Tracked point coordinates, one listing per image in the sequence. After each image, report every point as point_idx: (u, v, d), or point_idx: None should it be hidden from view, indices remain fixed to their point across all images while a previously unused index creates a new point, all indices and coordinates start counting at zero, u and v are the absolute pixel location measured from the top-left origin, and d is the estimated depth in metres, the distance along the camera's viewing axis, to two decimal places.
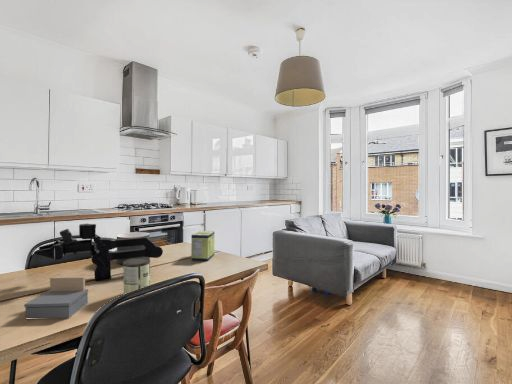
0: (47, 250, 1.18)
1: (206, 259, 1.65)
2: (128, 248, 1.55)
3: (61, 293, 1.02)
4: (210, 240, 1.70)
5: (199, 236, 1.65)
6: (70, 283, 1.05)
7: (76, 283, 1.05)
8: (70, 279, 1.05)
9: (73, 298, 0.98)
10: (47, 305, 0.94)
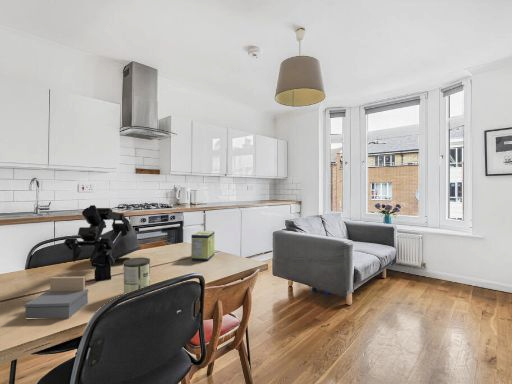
0: (96, 250, 1.18)
1: (206, 259, 1.65)
2: None
3: (61, 293, 1.02)
4: (210, 240, 1.70)
5: (199, 236, 1.65)
6: (70, 283, 1.05)
7: (76, 283, 1.05)
8: (70, 279, 1.05)
9: (73, 298, 0.98)
10: (47, 305, 0.94)
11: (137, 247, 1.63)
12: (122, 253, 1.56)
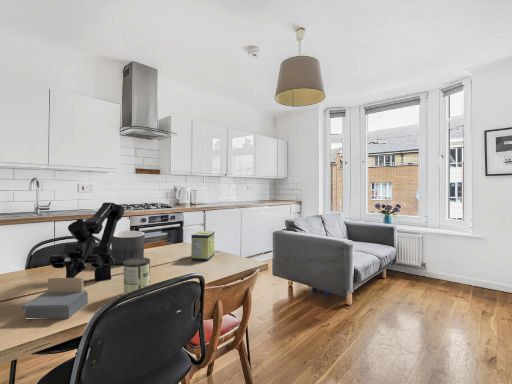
0: (75, 269, 1.08)
1: (206, 259, 1.65)
2: (121, 248, 1.55)
3: (59, 294, 1.01)
4: (210, 240, 1.70)
5: (199, 236, 1.65)
6: (68, 284, 1.04)
7: (74, 284, 1.04)
8: (68, 280, 1.03)
9: (71, 299, 0.97)
10: (45, 307, 0.92)
11: None
12: None
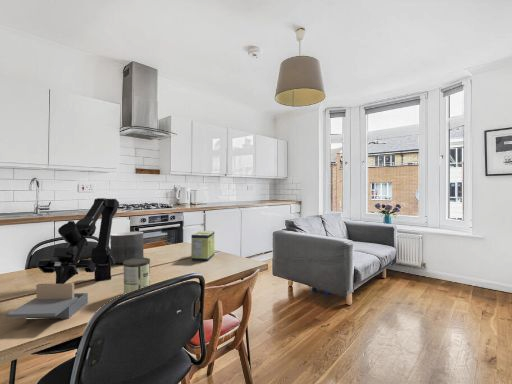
0: (66, 275, 1.01)
1: (206, 259, 1.65)
2: (121, 246, 1.56)
3: (48, 302, 0.95)
4: (210, 240, 1.70)
5: (199, 236, 1.65)
6: (58, 290, 0.97)
7: (64, 290, 0.98)
8: (58, 286, 0.97)
9: (60, 307, 0.91)
10: (31, 315, 0.86)
11: (142, 257, 1.64)
12: None
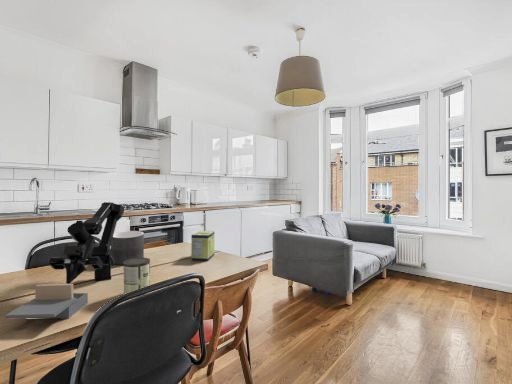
0: (75, 271, 1.08)
1: (206, 259, 1.65)
2: (123, 248, 1.55)
3: (47, 302, 0.94)
4: (210, 240, 1.70)
5: (199, 236, 1.65)
6: (57, 291, 0.97)
7: (63, 291, 0.97)
8: (57, 287, 0.97)
9: (59, 308, 0.90)
10: (30, 316, 0.86)
11: None
12: None
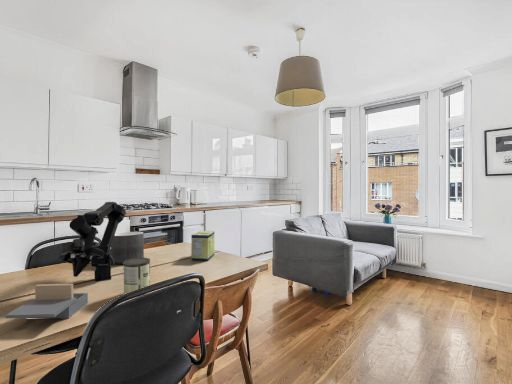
0: (80, 264, 1.11)
1: (206, 259, 1.65)
2: (124, 246, 1.56)
3: (47, 302, 0.94)
4: (210, 240, 1.70)
5: (199, 236, 1.65)
6: (57, 291, 0.97)
7: (63, 291, 0.97)
8: (57, 287, 0.97)
9: (59, 308, 0.90)
10: (30, 316, 0.86)
11: (143, 257, 1.66)
12: None
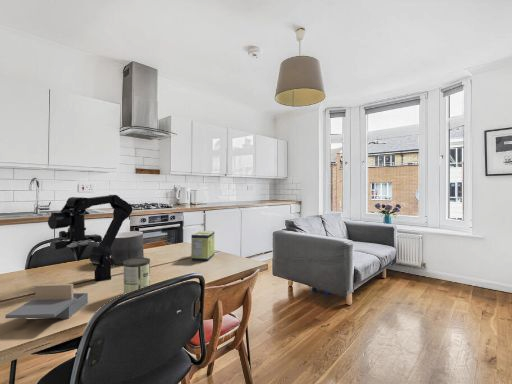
0: (72, 251, 1.21)
1: (206, 259, 1.65)
2: (124, 248, 1.55)
3: (47, 302, 0.94)
4: (210, 240, 1.70)
5: (199, 236, 1.65)
6: (57, 291, 0.97)
7: (63, 291, 0.97)
8: (57, 287, 0.97)
9: (59, 308, 0.90)
10: (30, 316, 0.86)
11: (143, 257, 1.66)
12: None
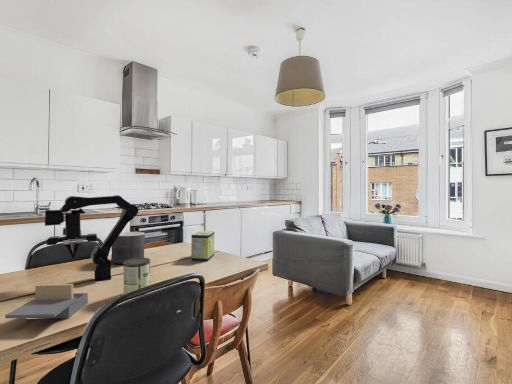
0: None
1: (206, 259, 1.65)
2: (127, 246, 1.56)
3: (47, 302, 0.94)
4: (210, 240, 1.70)
5: (199, 236, 1.65)
6: (57, 291, 0.97)
7: (63, 291, 0.97)
8: (57, 287, 0.97)
9: (59, 308, 0.90)
10: (30, 316, 0.86)
11: None
12: None
